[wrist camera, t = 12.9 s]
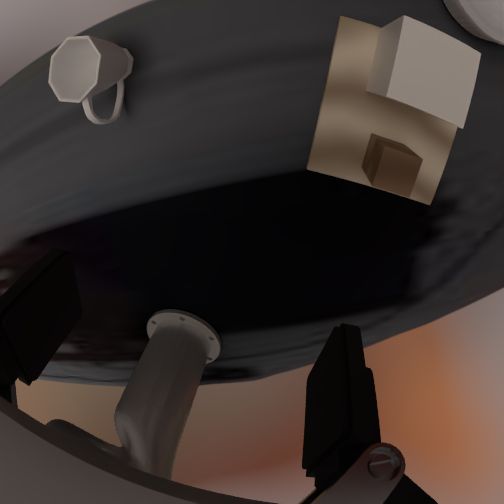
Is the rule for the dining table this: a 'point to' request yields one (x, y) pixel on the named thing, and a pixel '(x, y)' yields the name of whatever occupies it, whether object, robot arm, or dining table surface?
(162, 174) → the dining table surface
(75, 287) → the robot arm
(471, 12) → the ramekin
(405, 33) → the matte grey cube
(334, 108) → the post board
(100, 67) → the cup
